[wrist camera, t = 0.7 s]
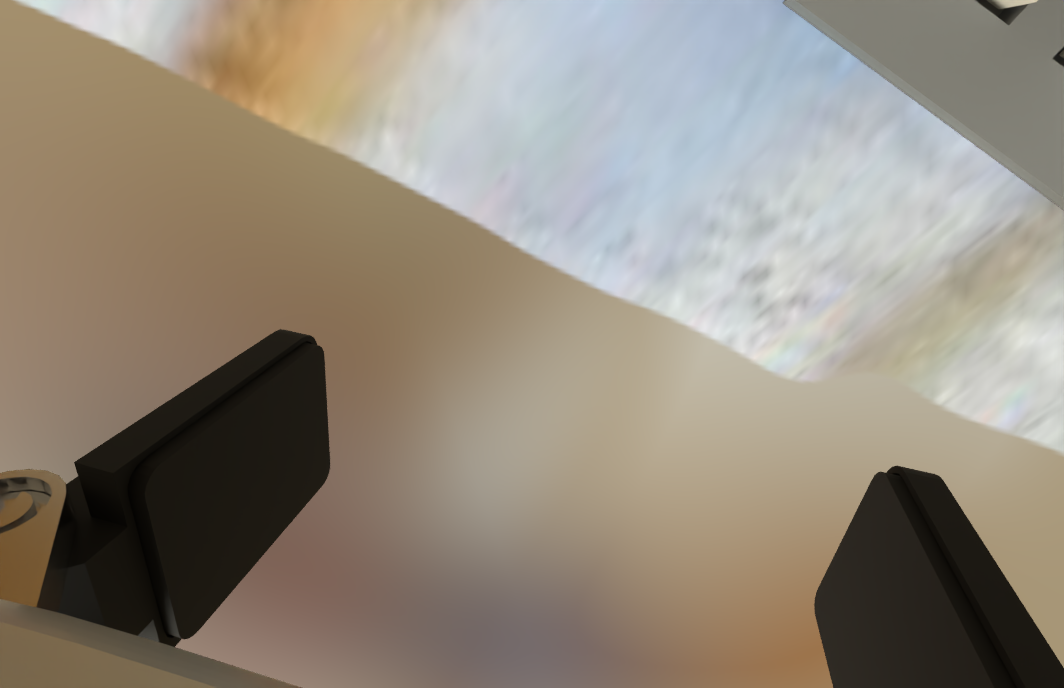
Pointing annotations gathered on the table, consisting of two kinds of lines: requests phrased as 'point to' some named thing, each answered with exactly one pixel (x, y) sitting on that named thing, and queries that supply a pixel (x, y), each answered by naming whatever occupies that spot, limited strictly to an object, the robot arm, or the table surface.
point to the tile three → (1009, 3)
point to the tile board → (968, 70)
